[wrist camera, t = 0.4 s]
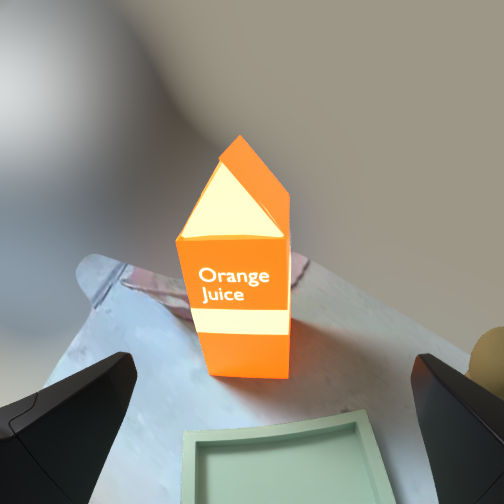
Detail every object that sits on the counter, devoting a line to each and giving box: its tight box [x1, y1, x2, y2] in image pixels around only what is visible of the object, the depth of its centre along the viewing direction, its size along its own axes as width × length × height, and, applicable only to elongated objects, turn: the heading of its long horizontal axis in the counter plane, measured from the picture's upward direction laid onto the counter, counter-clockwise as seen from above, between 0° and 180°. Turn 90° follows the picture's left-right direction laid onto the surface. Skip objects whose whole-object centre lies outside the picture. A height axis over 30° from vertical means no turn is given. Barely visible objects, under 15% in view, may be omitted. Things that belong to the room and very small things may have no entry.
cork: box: [465, 327, 504, 400], centre depth 16 cm, size 6×6×11 cm
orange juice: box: [176, 136, 291, 379], centre depth 27 cm, size 8×9×20 cm
